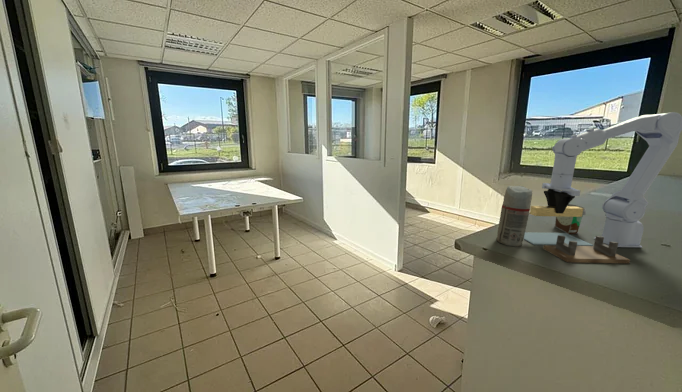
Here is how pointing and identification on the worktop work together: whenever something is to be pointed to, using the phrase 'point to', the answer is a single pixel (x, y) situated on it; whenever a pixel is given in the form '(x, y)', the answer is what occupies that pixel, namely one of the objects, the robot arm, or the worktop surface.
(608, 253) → the hook stand
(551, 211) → the brass rail
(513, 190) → the spray can
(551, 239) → the rubber mat
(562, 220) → the food container
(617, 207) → the robot arm
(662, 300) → the worktop surface
